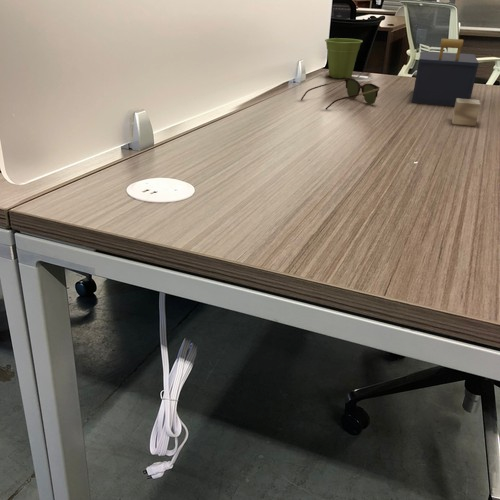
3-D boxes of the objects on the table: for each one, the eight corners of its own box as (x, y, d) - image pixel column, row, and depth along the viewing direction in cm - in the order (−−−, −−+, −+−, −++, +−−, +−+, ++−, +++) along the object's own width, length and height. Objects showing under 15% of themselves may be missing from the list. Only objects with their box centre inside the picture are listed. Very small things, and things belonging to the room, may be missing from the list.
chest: (468, 107, 128) (478, 66, 123) (411, 102, 132) (418, 62, 127) (465, 95, 143) (473, 57, 138) (414, 90, 147) (420, 54, 142)
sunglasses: (378, 106, 126) (380, 86, 124) (328, 116, 121) (329, 94, 118) (344, 95, 138) (345, 76, 135) (297, 103, 132) (297, 84, 130)
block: (474, 121, 115) (479, 99, 112) (475, 126, 111) (480, 104, 108) (451, 119, 116) (456, 98, 114) (452, 124, 112) (457, 102, 110)
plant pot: (321, 73, 171) (324, 37, 165) (356, 75, 170) (360, 38, 164) (322, 79, 160) (325, 41, 155) (359, 81, 159) (364, 42, 154)
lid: (478, 66, 123) (483, 41, 120) (418, 62, 126) (422, 38, 124) (473, 57, 138) (478, 35, 136) (420, 54, 142) (424, 32, 140)
